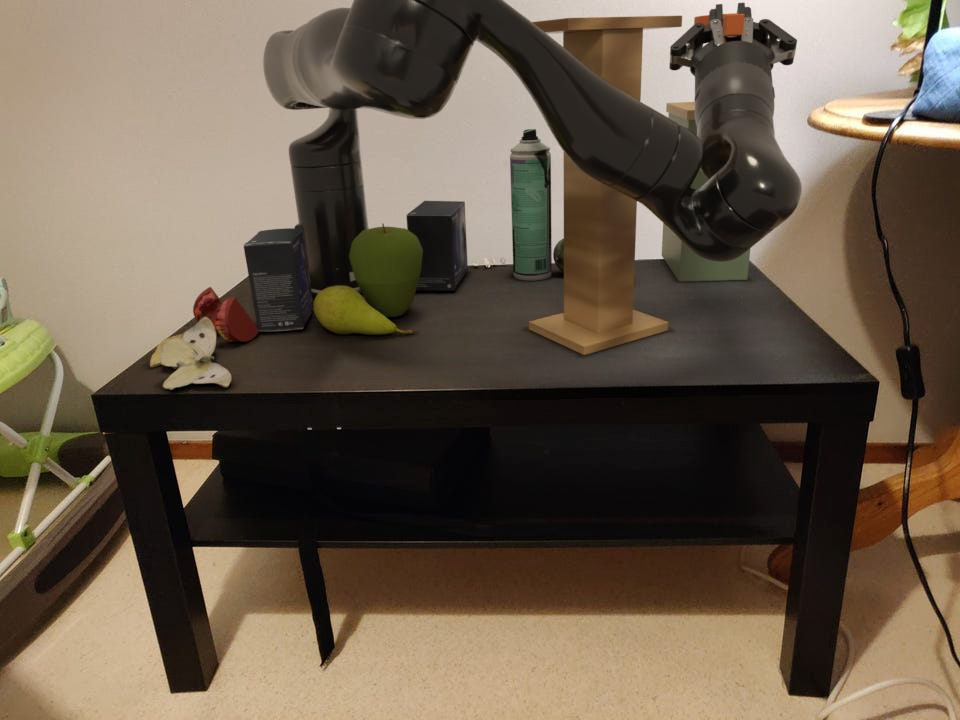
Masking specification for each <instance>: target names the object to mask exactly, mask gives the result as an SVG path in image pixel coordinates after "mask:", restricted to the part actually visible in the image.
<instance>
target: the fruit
mask: <svg viewBox="0 0 960 720" xmlns="http://www.w3.org/2000/svg"><path fill="white" fill-rule="evenodd" d="M313 314H314V315H315V317H316V319H317V320H318V322H319V323H320V325H322V326H323V327H324V328H325V329H327V330H328V331H330V332H332V333H334V334H337V335H350V334H361V335H370V336H383V335H389V334H390V335H391V334H394V333H396V332H398V333H401V334H406V335H413V334H415V332H414V330H412V329H406V330H402V329H399V328H398V326H397V325H396V324H395V323H394V322H392V321H391V320H390V319H389V318H388V317H385V316H384V315H382V314H381V313H380V312H378V311H377V310H375V309H374V308H372V307H371V306H370V305H369V304H368V303H367V302H366V300H365V298H364V296H363V295H362V294H359V293H358V292H357V291H356V290H355V289H353V288H351V287H349V286H331V287H328V288H326V289H324V290H322V291H320V292H319V293H318V294H317V296H315V297H314V299H313Z"/></svg>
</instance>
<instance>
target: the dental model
mask: <svg viewBox="0 0 960 720" xmlns="http://www.w3.org/2000/svg"><path fill="white" fill-rule="evenodd" d="M192 313H193V317H194V319H195V321H196V324H197V323H198V322H199V321H200V320H201V319H202V318H204V317H207V318H209V319H210V320H211V321H212V323H213V325H214V327H215V332H216V335H218V336H220V337H222V338H223V339H224V340H225V341H227V342H228V343H229V342H230V343H239V342H240V343H246V342H249V341H251V340H253V339H254V338H255V337H256V336H257V335H258V333H259V332H260V331H259V330H258V328H257V325H256V324H255V322H254V321H253V319H252V318H251V317H250V316H249V314H248V312H246V310H245V308H244V307H243V306H242V304H241V302H240V301H239V300H238V299H237V297H236V296H230V297H229V296H228V297H227V298H226V299H225V300H224V301H222V300H221V298H220V297H219V296H218V294H217V293H216V292H215V290H214V288H212V286H209V287H207V288H206V289H204V290H203V291H201V292H200V294H199V295H198V296H197V298H196V299H195V301H194V303H193V307H192Z"/></svg>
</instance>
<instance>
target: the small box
mask: <svg viewBox="0 0 960 720" xmlns="http://www.w3.org/2000/svg"><path fill="white" fill-rule="evenodd" d="M466 221H467V220H466V202H465V201H462V200H461V201H459V200H452V201H451V200H450V201H449V200H423V201H422V202H420V204H418V205H417V206H416V207H414V209H412V210H411V211H410V212H408V213H406V229H407V230H408V231H410V232H411V233H413V234H414V235H415V236H416V237H417V238H418V240H419V242H420V244H421V247H422V249H423V256H422V266H421V274H420V277H419V281H418V285H417V288H416V291H431V292H432V291H434V292H435V291H439V292H441V291H443V292H453V291H455V290H456V289H457V287H458V286H459V285H460V283H461V281H462V280H463V278H464V277H465V275H466V274H467V272H468V270H469V268H468V267H469V266H468V264H467V263H468V246H467V245H468V242H467V222H466Z"/></svg>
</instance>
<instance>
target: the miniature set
mask: <svg viewBox="0 0 960 720" xmlns="http://www.w3.org/2000/svg"><path fill="white" fill-rule="evenodd" d="M481 261H484V265H485V267H486V268H488V269H490V267H491V264H490V262H489V258H486V257H484V258H482V259H481ZM490 261H491V262H492V263H493V265H494V266H496V265H497V262H496V258H490ZM499 261H500V263H501V264H502V265H506V261H507V259H506V258H504V257H503V256H500V257H499ZM467 264H468V262H467ZM472 266H474V267H478V266H480V264H479V263H478V262H477V261H476V260H473V261H472Z"/></svg>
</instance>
